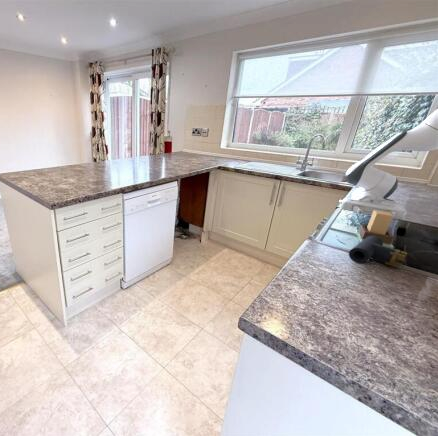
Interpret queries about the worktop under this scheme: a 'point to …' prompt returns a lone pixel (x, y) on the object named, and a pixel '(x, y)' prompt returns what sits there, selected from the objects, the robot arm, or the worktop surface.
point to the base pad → (385, 238)
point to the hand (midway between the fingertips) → (375, 214)
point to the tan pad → (379, 222)
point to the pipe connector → (376, 252)
